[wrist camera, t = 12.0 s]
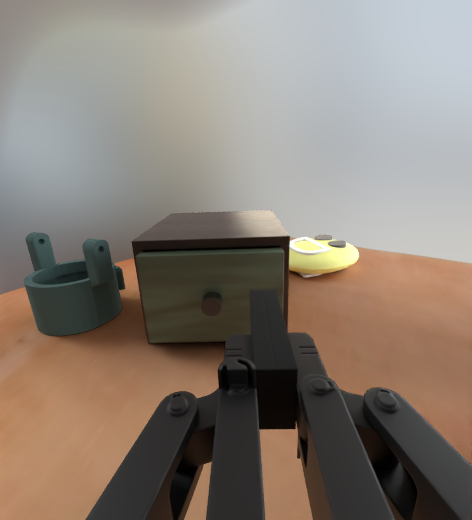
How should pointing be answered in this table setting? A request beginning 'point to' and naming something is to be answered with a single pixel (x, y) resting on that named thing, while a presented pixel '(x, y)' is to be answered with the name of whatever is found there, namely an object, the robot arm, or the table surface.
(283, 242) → the case
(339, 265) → the emoji
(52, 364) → the table surface
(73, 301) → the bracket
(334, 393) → the robot arm
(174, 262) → the case drawer
